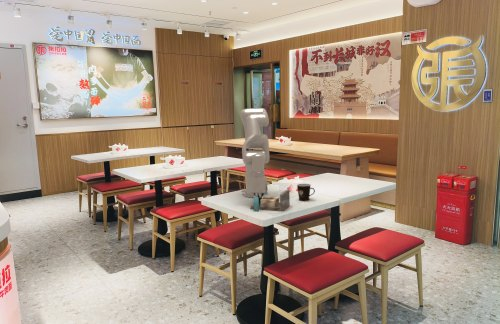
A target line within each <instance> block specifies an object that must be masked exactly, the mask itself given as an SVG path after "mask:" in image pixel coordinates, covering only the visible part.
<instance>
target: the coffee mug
mask: <svg viewBox="0 0 500 324" xmlns="http://www.w3.org/2000/svg"><path fill="white" fill-rule="evenodd" d="M296 187H297V194H298V200H299V201H300V202H308V201H309V200H310V197H311V196H312V195H314V194H315V192H316V190H315V187H311V184H310V183H298V184H297V185H296ZM311 190H313V193H311ZM310 193H311V194H310Z"/></svg>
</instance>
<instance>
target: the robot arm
mask: <svg viewBox="0 0 500 324" xmlns="http://www.w3.org/2000/svg"><path fill="white" fill-rule="evenodd" d="M239 115H240V121H241V122H242V125H243V128H244V143H243V144H242V147H241V148H242V149H241V155H242V162H243V164H244V166H245V186H246V187H245V189H244V188H242V189H240V190H241V193H244V197H246V198H254V197H259V204H261V202H260V200H261V199H262V198H263V196H266V195H268V180H267V176H266V175H265V172H266V171H265V164H268V163H269V162H270V144H269V137H268V135H267V134H266V133H262V132H261V128H262V127H263V128H266V127H268V126H269V124H270V120H269V114H268V112H267V109H266V108H262V107H257V108H256V107H255V108H253V107H251V108H244V109H243V108H242V110H240V114H239ZM247 149H250V150H247ZM251 149H252V150H251Z"/></svg>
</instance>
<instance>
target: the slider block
mask: <svg viewBox="0 0 500 324" xmlns="http://www.w3.org/2000/svg"><path fill="white" fill-rule="evenodd" d="M260 202H261V206H265V207H277V206H278V205H279V203H280V196H266V195H264V197H262V199H261V200H260Z"/></svg>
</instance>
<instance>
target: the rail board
mask: <svg viewBox="0 0 500 324" xmlns="http://www.w3.org/2000/svg"><path fill="white" fill-rule="evenodd" d="M290 197H291V196H290V189H285V190H284V191H282V192H281V193H280V194H279V205H278V206H277V207H265V206H261V204H259V211H271V212H273V211H274V212H285V211H286V210H287V209H288V208H289V207H291V206H290V204H291V202H290V199H291V198H290ZM249 209H250V210H254V204H253V205H250V207H249Z"/></svg>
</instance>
